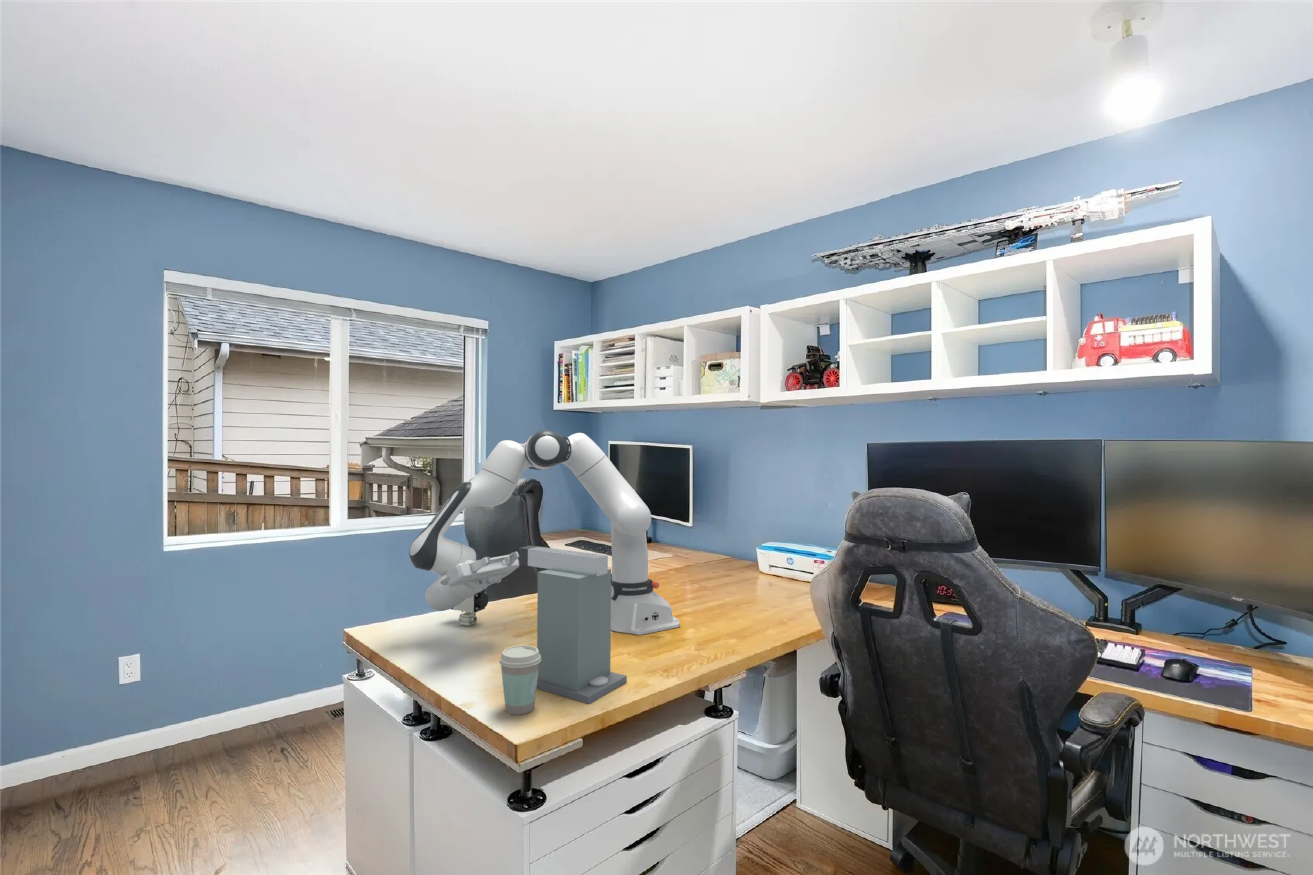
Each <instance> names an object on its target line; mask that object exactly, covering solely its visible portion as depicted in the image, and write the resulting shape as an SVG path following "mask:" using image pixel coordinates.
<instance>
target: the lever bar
mask: <svg viewBox="0 0 1313 875" xmlns="http://www.w3.org/2000/svg"><path fill="white" fill-rule="evenodd" d="M518 555H519V558H518V560H519V564H520V565H519V566H527V567H534V568H540V569H541V568H542V569H545V570H548V569H552V570H559V571H565V572H572V573H578V574H585V575H591V576H600V575H603V574H607V573H608V569H609V568H608V567H609V566H608V565H609V563H608V562H609V556H608V555H607V554H606V555H605V554H598V553H590V552H581V551H576V550H568V549H561V548H560V549H559V548H553V547H544V546H537V545H527V546H522V547H519V548H518Z"/></svg>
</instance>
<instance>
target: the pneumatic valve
mask: <svg viewBox="0 0 1313 875" xmlns="http://www.w3.org/2000/svg"><path fill="white" fill-rule="evenodd" d="M488 604H489V595H488V594H487V592H486V588H485V589H484V590H482V591H481V592H478V593H477V594H475V595H473V596H472V597H470V598H467V599H465V600H464V601H463V602H462V603H460V604H459V605H457V606H455V607H453V608H451V609H450V610H452V611H458V612H459V611H460V614H459V616H458V622H459V623H458V624H459V625H460V626H464V627H471V626H472V625H475V624H477V622H478V617H477V613H478V612H481V611H483V610H485V608H486V607H487V606H488Z"/></svg>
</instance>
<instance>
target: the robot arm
mask: <svg viewBox="0 0 1313 875" xmlns="http://www.w3.org/2000/svg"><path fill="white" fill-rule="evenodd" d="M559 464H561V465H562V464H563V465H564V466H565V467H567V468H568V469H569V470H570V471H571V472H572V473H573V475H574V476H575V477H576V478H577V480H578V481H579V482H580V484H581V485H582V486H583V487H584V489H585V490H586V491H587V492H588V494H589V495H590V496H591V497H592V499H593V500H594V501H595V502H596V504H597V505H598V507H600V509H601V510H602V512H603V514H605V516H606V517H607V518H608V519H609V520H610V538H611V539H610V540H611V631H613V632H618V633H624V634H625V633H627V634H633V635H638V636H642V635H646V634H652V633H657V632H661V631H667V630H671V629H677V628H680V626H681V623H680V620H679V618H677V617H676V616H673V609H672V606H671V605H670V603H669V601H668V600H666V599H665V598H664V597H662V596H661V595H660V594H658V592H656V591H655V590H654V589H659V587H660V582H658V581H656V580H652V579H650V578H649V551H648V543H647V540H648V539H647V531H648V529H650V527H651V523H652V514H651V510H650V509H649V507H648V505H647V504H646V503H645V502H644V501H643V499H642V498H641V497H640V496H639V494H638V493H637V492H636V491H635V490H634V488H633V487H632V485H630V483H629V482H628V481H627V480H626V479H625V477H624V476H623V475H622V474H621V473H620V471H619V470H618V469H617V467H616V466H615V465H614V464H613V462H612V461H611V459H610V458H608V456H607V455H606V454H605V452H604V451H603V450H602V449H601V448H600V446H599V445H597V443H596V442H595V441H594V440H592V438H590V436H588V435H587V434H585V433H583V432H576V433H573V434H571V435H569V436H565V435H563V434H560V433H557V432H555V431H553V430H548V429H547V430H546V429H544V430H539V431H537V432H536V433H533V434H532V435H531V436H530V437H529V438H528V439H527V441H526V442H524V443H519V442H516V441H514V440H510V439H506V440H505V439H504V440H501V441H499V442H498V443H497V445H495V447H494V448H493V449H492V451H490V454H489V455H488V457H487V458H486V459H485V461H484V463H483V465H482V466H481V468H480V470H479V472H477V474H476V475H475V476H474V477H473V478H472V479H471V480H468V481H465V482H462V483H460V484H459V485H458V486H457V487H456V488H455V490H453V492H452V493H451V494H450V495H449V497H448V498H447V499H446V500H445V502H444V503H443V505H442V506H441V507H440V508H439V510H438V511H437V512H436V514H435V515H434V516H433V518H432V519H431V521H430V522H429V523H428V525H427V526H426V527H425V528H424V530H422V531H421V532H420V533H419V534H418V535H417V537H416V538H415V539H414V540H413V542H412V544H411V546H410V547H409V550H408V555H409V559H410V561H411V563H412V565H413V566H414V568H416V569H418V570H419V569H420V570H423V571H427V572H428V571H429V572H431V573H435V574H438V575H439V576H438V578H437V580H435V581H434V582H432V584H431V585H430V586H428V588H427V589H426V591H425V594H424V598H425V601H426V603H427V605H429V607H430V608H432V609H433V610H436V611H439V612H443V611H447V610H451V608H453V607H455V606H457V605H459V604H460V603H462V602H463V601H464V600H465V599H467V598H470V597H472V596H473V595H475V594H477V593H478V592H481V591H482V590H484V589H485V590H486V589H487V588H490V587H493V586H495V585H498V584H499V583H501V582H502V579H503V578H505V577H507V576H509V575H511V573H513V572H514V571H515V570H517V569H518V568H519V567H520V566H521V565H520V564H519V551H512V552H511V553H509V554H506V555H501V556H500V555H499V556H493V557H490V556H484V557H482V558H481V559H479V557H478V554H477V552H476V550H475V549H474V548H473V547H470V546H468V545H466V544H463V543H461V542H457V541H456V540H452V539H451V538H448V537H445V536H444V535H445V534H446V532H447V531H448V530H449V528H450V527H451V525H452V524H453V523H454V521H456V519H457V517H458V516H459V515H460V514H461V513H462V511H464V510H466V509H468V508H472V507H497V506H499V505H502V504H504V503H506V502H507V501H508V500H509V499H510V498H511V497H512V495H513V493H514V491H515V489H516V487H517V485H518V483H519V481H520V479H521V477H522V475H523V474H524V472H525V471H526V470H527V469H533V470H537V471H545V470H550V469H553V468H554V467H556V466H557V465H559Z"/></svg>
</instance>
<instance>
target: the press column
mask: <svg viewBox="0 0 1313 875" xmlns="http://www.w3.org/2000/svg"><path fill="white" fill-rule="evenodd" d="M611 579H612V568H608V573H607V574H603V575H600V576H591V575H585V574H578V573H572V572H565V571H559V570H552V569H545V570H541V571H537V601H536V602H537V605H536V606H537V611H536V612H537V617H536V620H537V622H536V626H537V627H536V634H537V635H536V638H537V639H536V648H538V650H539V654H540V655H541V661H540V662H539V671H538V680H537V688H536V690H537V689H538V690H541V691H544V692H548V693H550V694H554V695H558V696H560V697H564V698H568V699H571V700H575V701H578V702H581V703H584V704H588V705H590V704H592V703H593V702H595V701H597V700H598V698H599V699H600V698H602V697H604V696H605V695H607V694H610V692H612V691H614V690H616V689H617V688H619V687H621V686H623V685H625V684H626V683H627V682H628V676H627V675H625V674H622V673H617V672H615V671H614V672H613V671H611V648H612V647H611V641H612V640H611V639H612V637H611V633H612V630H611Z"/></svg>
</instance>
